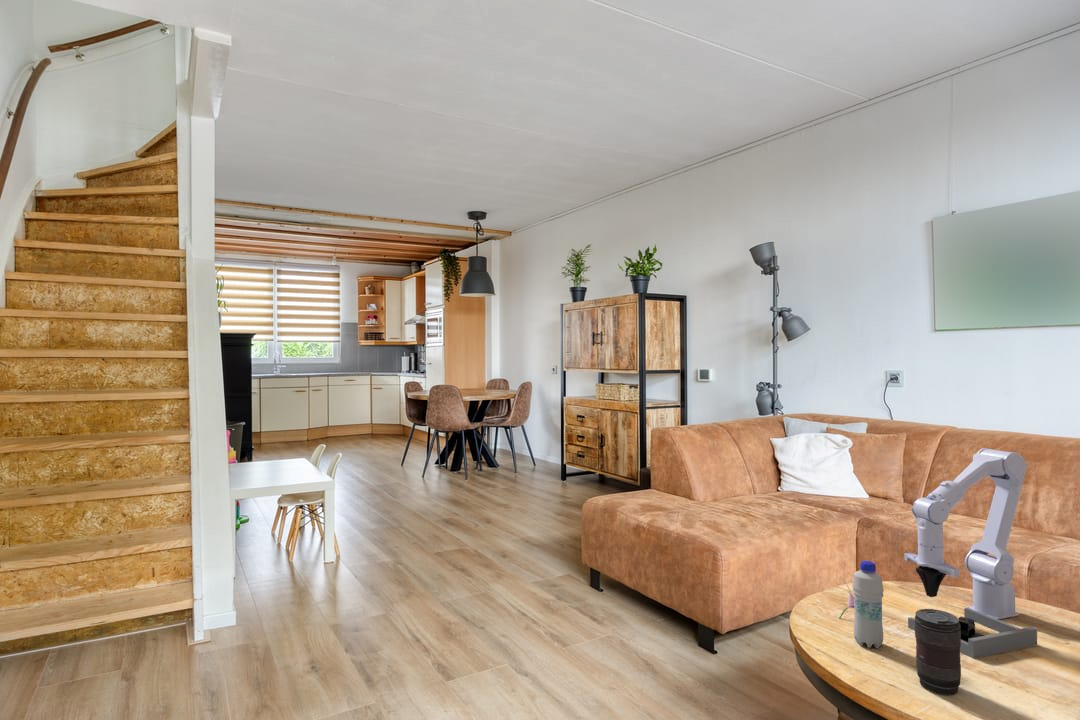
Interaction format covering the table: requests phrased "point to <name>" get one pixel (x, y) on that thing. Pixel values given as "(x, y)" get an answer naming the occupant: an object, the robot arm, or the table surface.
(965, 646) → the dock
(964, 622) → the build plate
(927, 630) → the camera lens
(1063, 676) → the table surface
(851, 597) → the lily
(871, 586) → the bottle
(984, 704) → the table surface
